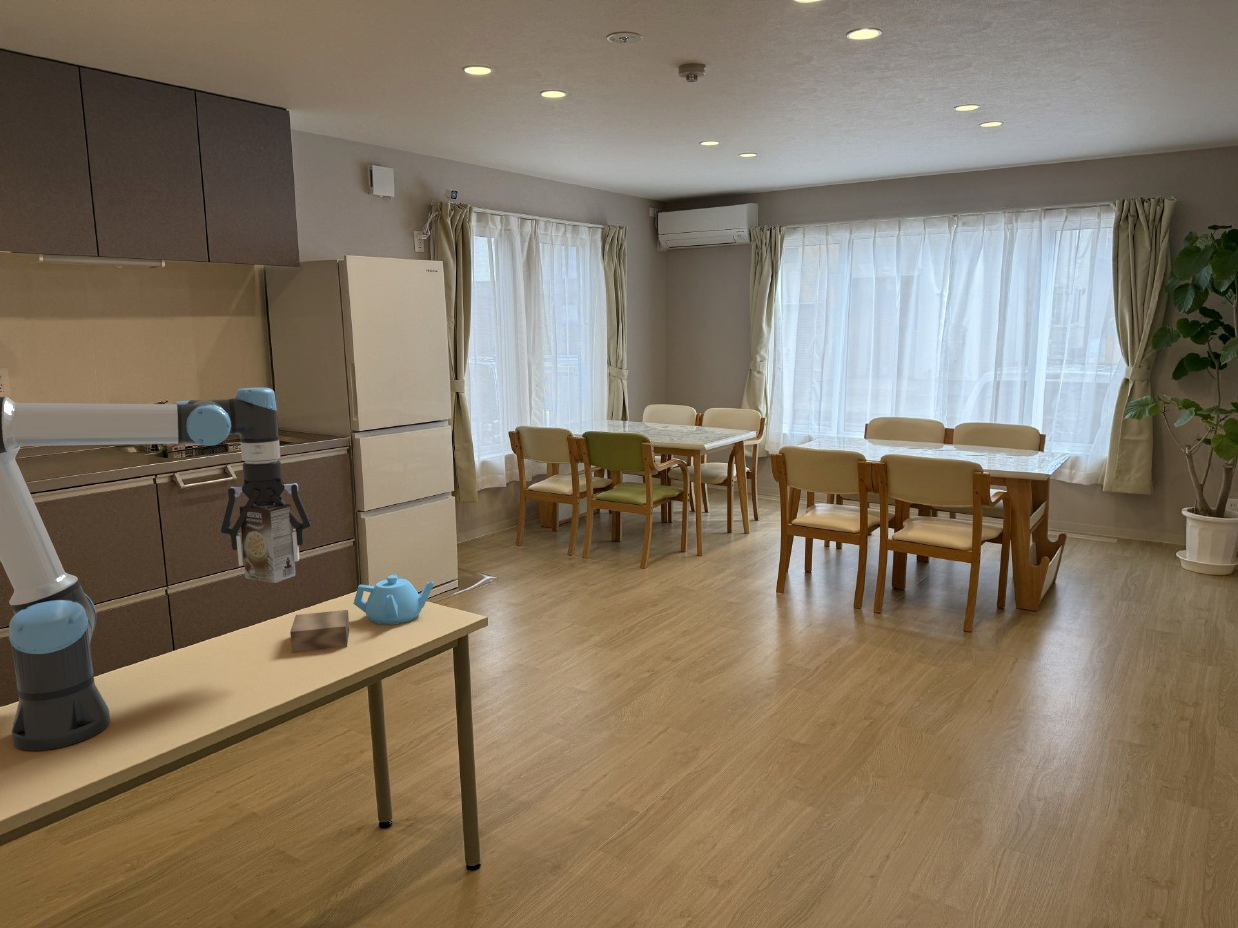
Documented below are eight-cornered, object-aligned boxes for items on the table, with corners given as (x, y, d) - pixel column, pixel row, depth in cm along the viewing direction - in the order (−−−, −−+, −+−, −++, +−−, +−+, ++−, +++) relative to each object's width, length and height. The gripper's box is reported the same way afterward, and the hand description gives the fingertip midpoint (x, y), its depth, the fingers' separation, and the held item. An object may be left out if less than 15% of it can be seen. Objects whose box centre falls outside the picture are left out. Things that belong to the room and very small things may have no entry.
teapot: (398, 603, 226) (395, 564, 224) (437, 613, 217) (435, 572, 216) (351, 620, 213) (348, 579, 212) (391, 631, 205) (388, 588, 203)
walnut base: (292, 652, 192) (290, 631, 191) (297, 634, 203) (295, 614, 203) (347, 646, 195) (345, 626, 194) (349, 629, 207) (348, 609, 206)
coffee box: (243, 578, 182) (237, 506, 179) (266, 571, 187) (261, 500, 185) (274, 583, 178) (268, 509, 175) (297, 575, 183) (292, 503, 181)
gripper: (198, 466, 172) (208, 571, 175) (317, 460, 178) (324, 562, 181) (206, 461, 179) (215, 561, 183) (320, 455, 185) (326, 553, 188)
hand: (269, 561), depth 182 cm, fingers closed on coffee box, 10 cm apart
